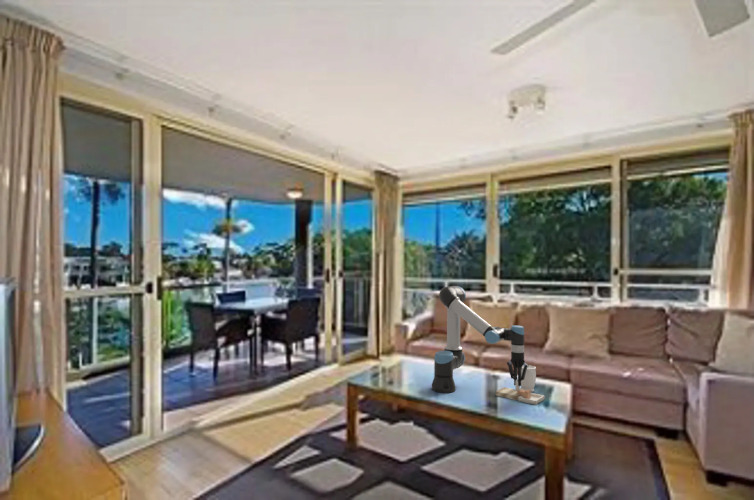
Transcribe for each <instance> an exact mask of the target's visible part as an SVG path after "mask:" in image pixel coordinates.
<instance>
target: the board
mask: <svg viewBox="0 0 754 500" xmlns="http://www.w3.org/2000/svg"><path fill="white" fill-rule="evenodd" d="M519 396H521V395H520V394H517V392H516V391H515V388H511V387H504V386H503V387H502V388H499V389H497V390H496V391H495V397H501V398H506V399H510V400H514V401H518V397H519Z"/></svg>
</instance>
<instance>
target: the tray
mask: <svg viewBox="0 0 754 500" xmlns="http://www.w3.org/2000/svg"><path fill="white" fill-rule="evenodd" d="M545 399H546V396H545V395H544V394H538V393H535V392H531V398H529V399H526V398H525V396H524V395H521V396H519V397H518V400H517V402H520V403H525V404H530V405H536V406H537V405H539V404H540V403H541V402H543V401H544V400H545Z"/></svg>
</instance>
